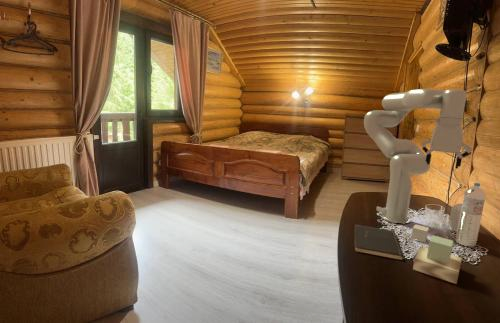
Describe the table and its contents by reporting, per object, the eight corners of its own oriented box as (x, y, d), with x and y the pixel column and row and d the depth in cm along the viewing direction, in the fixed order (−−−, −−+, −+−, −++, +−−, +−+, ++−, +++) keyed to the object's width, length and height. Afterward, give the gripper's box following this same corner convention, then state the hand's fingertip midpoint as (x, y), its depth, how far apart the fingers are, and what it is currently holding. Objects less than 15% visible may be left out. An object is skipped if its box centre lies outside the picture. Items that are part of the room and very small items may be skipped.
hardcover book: (354, 252, 110) (354, 246, 110) (354, 229, 132) (354, 224, 131) (402, 261, 106) (403, 255, 105) (394, 236, 127) (395, 230, 127)
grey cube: (411, 239, 124) (412, 227, 123) (413, 235, 127) (415, 224, 127) (424, 243, 121) (426, 231, 120) (427, 239, 124) (429, 227, 124)
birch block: (412, 269, 100) (414, 258, 99) (419, 256, 109) (421, 246, 108) (456, 284, 92) (458, 272, 92) (459, 268, 102) (461, 257, 101)
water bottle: (472, 242, 124) (484, 182, 120) (478, 249, 118) (491, 186, 113) (452, 238, 126) (464, 180, 122) (457, 245, 120) (469, 184, 115)
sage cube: (426, 257, 100) (429, 240, 98) (429, 251, 104) (432, 235, 103) (448, 264, 96) (451, 246, 95) (450, 257, 101) (453, 240, 99)
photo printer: (453, 232, 133) (458, 205, 131) (445, 228, 137) (450, 202, 135) (473, 231, 135) (478, 205, 133) (465, 228, 139) (470, 202, 137)
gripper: (422, 120, 120) (415, 163, 123) (477, 124, 109) (468, 171, 112) (426, 120, 125) (419, 161, 129) (477, 124, 115) (469, 168, 118)
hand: (442, 166), depth 120 cm, fingers open, 9 cm apart
